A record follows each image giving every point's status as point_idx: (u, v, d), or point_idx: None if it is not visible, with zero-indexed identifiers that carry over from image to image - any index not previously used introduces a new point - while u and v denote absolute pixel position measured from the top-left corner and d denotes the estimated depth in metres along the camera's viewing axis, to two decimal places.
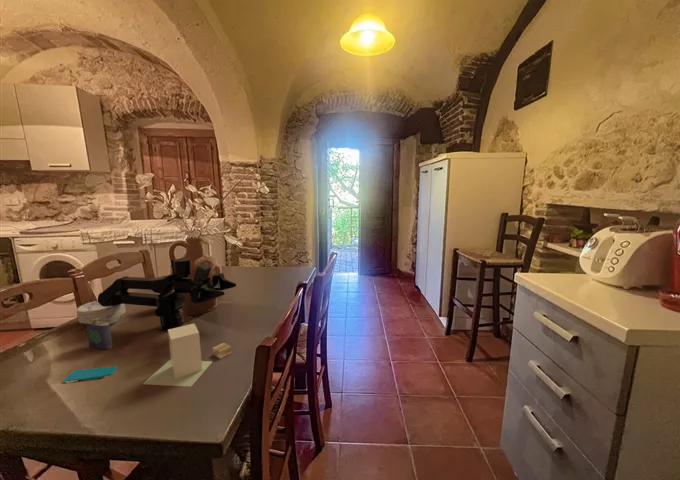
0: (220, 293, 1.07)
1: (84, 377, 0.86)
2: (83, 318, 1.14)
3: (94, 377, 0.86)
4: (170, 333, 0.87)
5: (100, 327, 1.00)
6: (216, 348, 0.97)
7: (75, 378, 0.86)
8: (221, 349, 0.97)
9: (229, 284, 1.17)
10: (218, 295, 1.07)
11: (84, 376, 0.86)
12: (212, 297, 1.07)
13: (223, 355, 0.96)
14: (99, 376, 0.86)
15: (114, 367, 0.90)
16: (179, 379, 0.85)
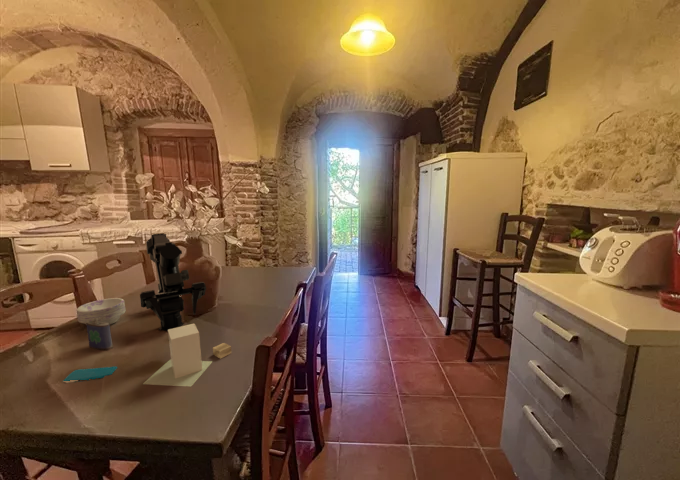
0: (159, 318, 0.93)
1: (84, 377, 0.86)
2: (83, 318, 1.14)
3: (94, 377, 0.86)
4: (170, 333, 0.87)
5: (100, 327, 1.00)
6: (216, 348, 0.97)
7: (75, 378, 0.86)
8: (221, 349, 0.97)
9: (193, 306, 0.99)
10: (158, 317, 0.93)
11: (84, 376, 0.86)
12: (155, 313, 0.94)
13: (223, 355, 0.96)
14: (99, 376, 0.86)
15: (114, 367, 0.90)
16: (179, 379, 0.85)
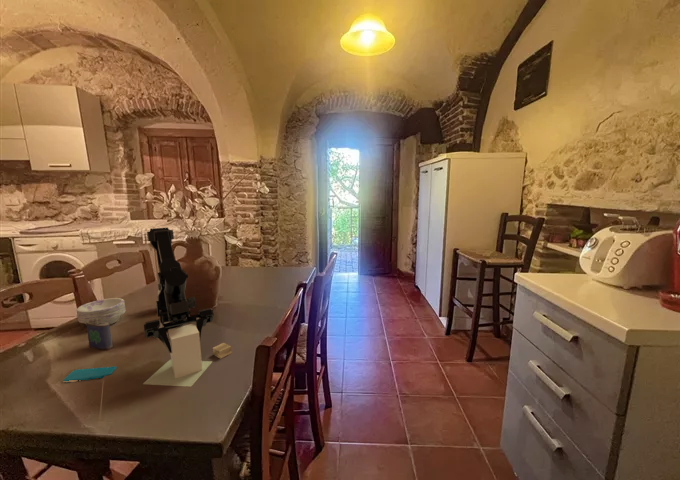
0: (168, 349, 0.87)
1: (83, 377, 0.86)
2: (83, 318, 1.14)
3: (93, 377, 0.86)
4: (170, 333, 0.87)
5: (100, 327, 1.00)
6: (216, 348, 0.97)
7: (74, 378, 0.86)
8: (221, 349, 0.96)
9: None
10: None
11: (83, 376, 0.86)
12: (163, 343, 0.89)
13: (223, 355, 0.96)
14: (98, 376, 0.86)
15: (113, 367, 0.90)
16: (179, 379, 0.85)
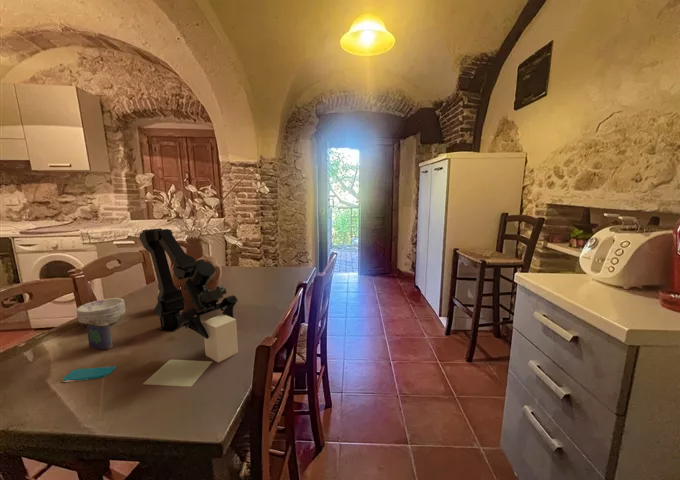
0: (204, 335, 0.93)
1: (82, 377, 0.86)
2: (83, 318, 1.14)
3: (92, 377, 0.86)
4: (209, 323, 0.94)
5: (100, 327, 1.00)
6: None
7: (73, 377, 0.86)
8: None
9: None
10: (202, 334, 0.93)
11: (82, 376, 0.86)
12: (197, 331, 0.94)
13: None
14: (97, 376, 0.86)
15: (112, 367, 0.90)
16: (179, 379, 0.85)
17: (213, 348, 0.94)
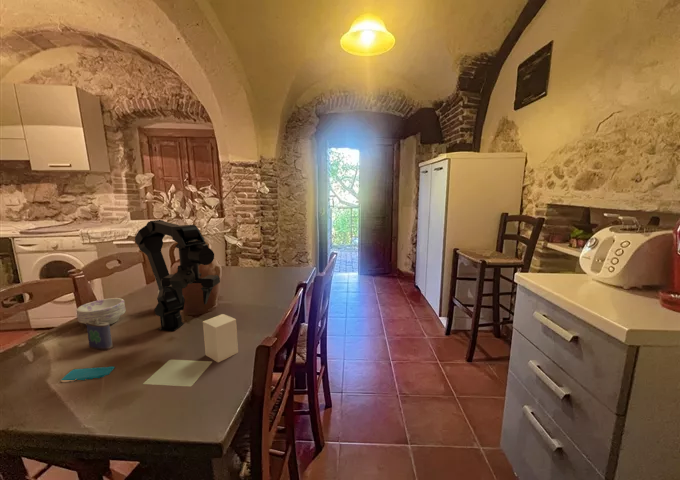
0: None
1: (81, 377, 0.86)
2: (83, 318, 1.14)
3: (91, 377, 0.86)
4: (209, 323, 0.94)
5: (100, 327, 1.00)
6: None
7: (72, 377, 0.86)
8: None
9: None
10: None
11: (81, 376, 0.86)
12: None
13: None
14: (96, 376, 0.86)
15: (111, 367, 0.90)
16: (179, 379, 0.85)
17: (213, 348, 0.94)
